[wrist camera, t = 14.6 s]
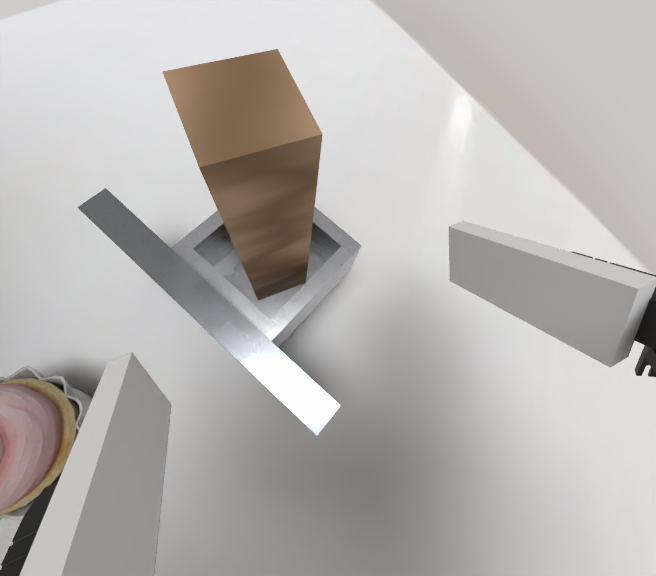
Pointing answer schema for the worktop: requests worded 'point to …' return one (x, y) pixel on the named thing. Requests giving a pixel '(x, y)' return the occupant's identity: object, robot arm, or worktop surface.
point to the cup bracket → (238, 294)
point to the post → (255, 160)
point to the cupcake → (35, 435)
